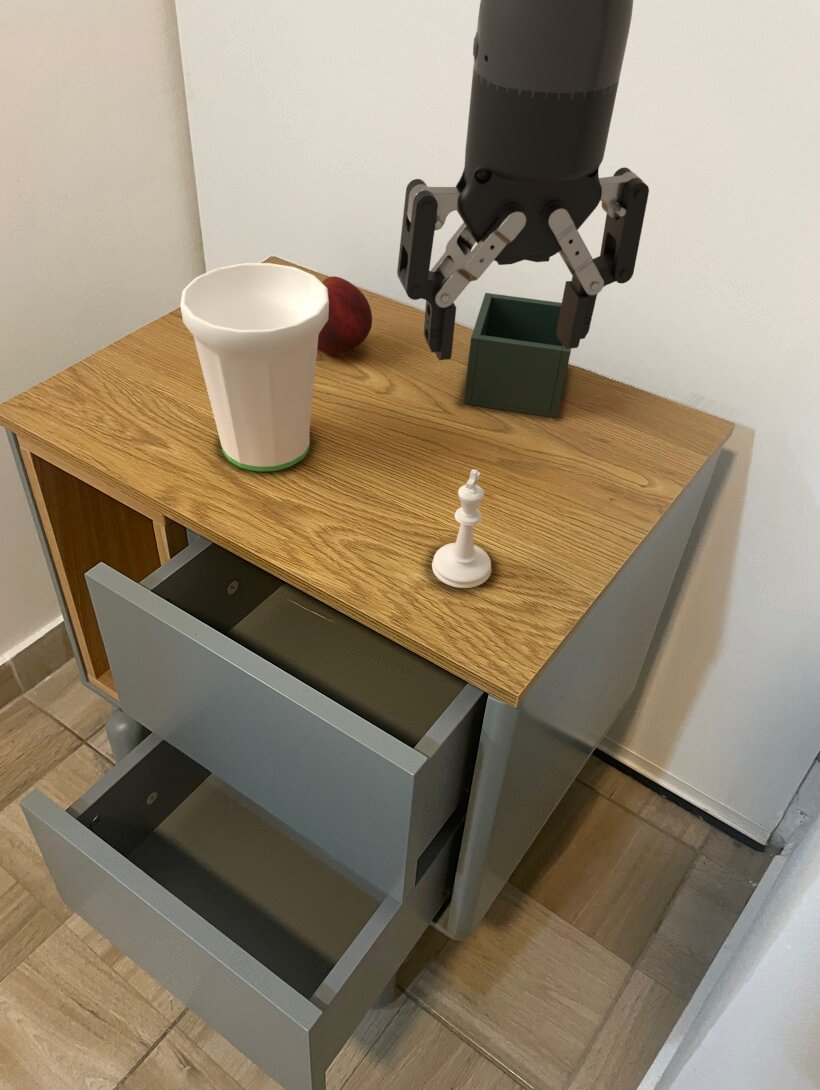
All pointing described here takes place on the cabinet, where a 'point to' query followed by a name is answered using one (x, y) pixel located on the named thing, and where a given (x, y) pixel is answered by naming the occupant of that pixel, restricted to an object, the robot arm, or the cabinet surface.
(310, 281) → the cup
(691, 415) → the cabinet surface
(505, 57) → the robot arm
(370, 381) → the cabinet surface
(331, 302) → the apple
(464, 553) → the chess piece
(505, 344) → the bin
